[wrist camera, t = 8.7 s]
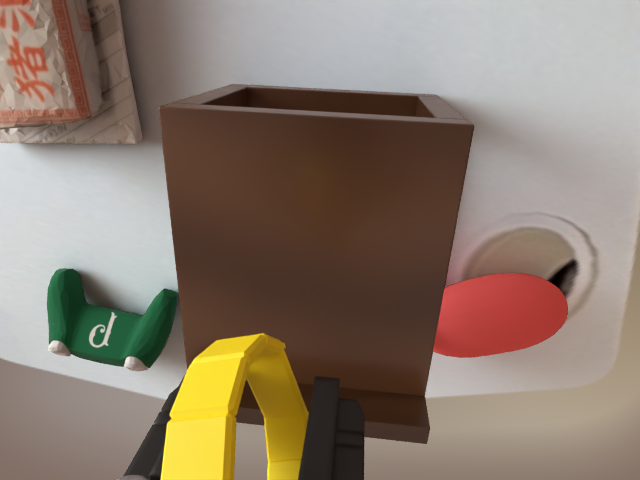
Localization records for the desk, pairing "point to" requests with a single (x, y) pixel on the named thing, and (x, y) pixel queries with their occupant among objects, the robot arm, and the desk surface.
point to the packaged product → (65, 73)
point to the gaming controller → (106, 326)
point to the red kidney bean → (498, 315)
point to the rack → (319, 234)
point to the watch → (235, 411)
